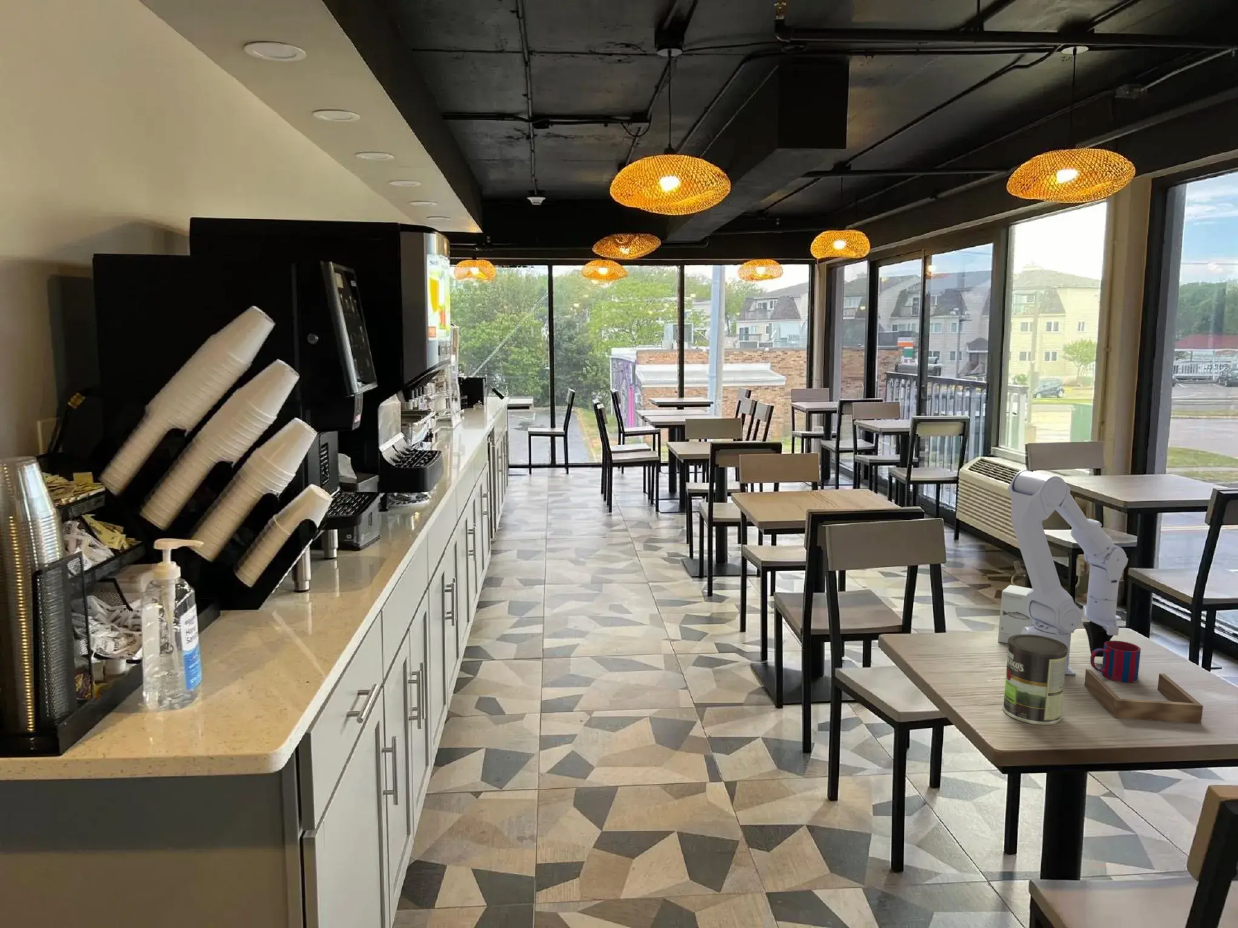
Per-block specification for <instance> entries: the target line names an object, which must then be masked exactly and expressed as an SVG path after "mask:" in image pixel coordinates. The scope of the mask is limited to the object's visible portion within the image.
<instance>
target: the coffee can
mask: <svg viewBox="0 0 1238 928" xmlns="http://www.w3.org/2000/svg"><path fill="white" fill-rule="evenodd" d="M1067 652H1068V647H1067V646H1066V645H1065V644H1064V643H1062V642H1060V641H1058V640H1055V639H1052V638H1049V637H1044V636H1039V635H1030V634H1021V635H1014V636H1011V637H1009V638H1008V643H1007V655H1006V656H1007V657H1006V668H1005V669H1006V672H1005V683H1004V693H1003V706H1002V711H1003V712H1004V713H1005V714H1006V715H1008V716H1009V717H1010V718H1013V719H1014V720H1016V721H1019V722H1022V723H1026V724H1030V725H1037V726H1051V725H1055V724H1058V723H1059V722H1061V721H1062V706H1063V697H1064V688H1065V687H1064V686H1065V676H1066V674H1065V667H1066V656H1067Z"/></svg>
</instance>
